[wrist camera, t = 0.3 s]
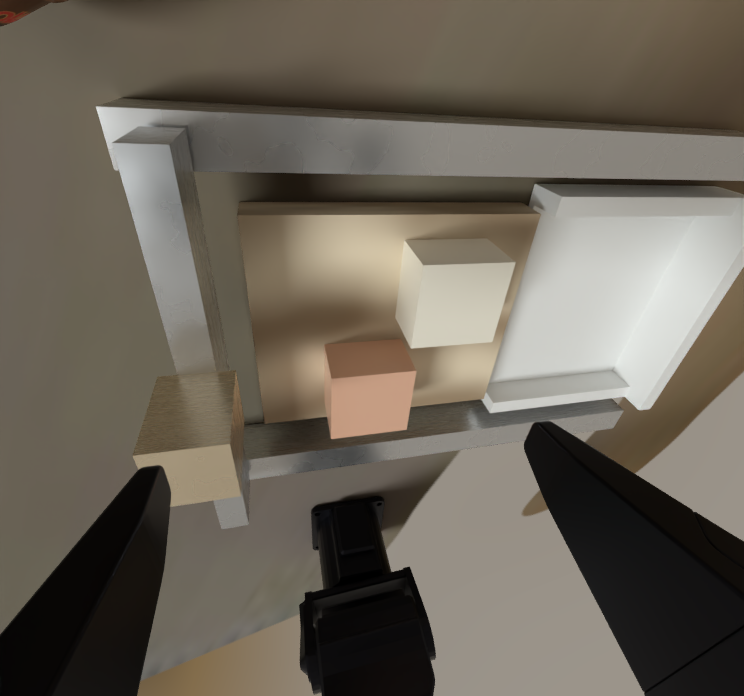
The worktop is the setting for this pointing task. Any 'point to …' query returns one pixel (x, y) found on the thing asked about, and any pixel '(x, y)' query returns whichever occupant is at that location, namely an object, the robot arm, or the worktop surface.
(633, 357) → the box
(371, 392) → the salmon pink block
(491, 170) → the rails
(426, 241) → the beige block
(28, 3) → the tin
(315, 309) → the board
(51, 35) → the worktop surface
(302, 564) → the worktop surface
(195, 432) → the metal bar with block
